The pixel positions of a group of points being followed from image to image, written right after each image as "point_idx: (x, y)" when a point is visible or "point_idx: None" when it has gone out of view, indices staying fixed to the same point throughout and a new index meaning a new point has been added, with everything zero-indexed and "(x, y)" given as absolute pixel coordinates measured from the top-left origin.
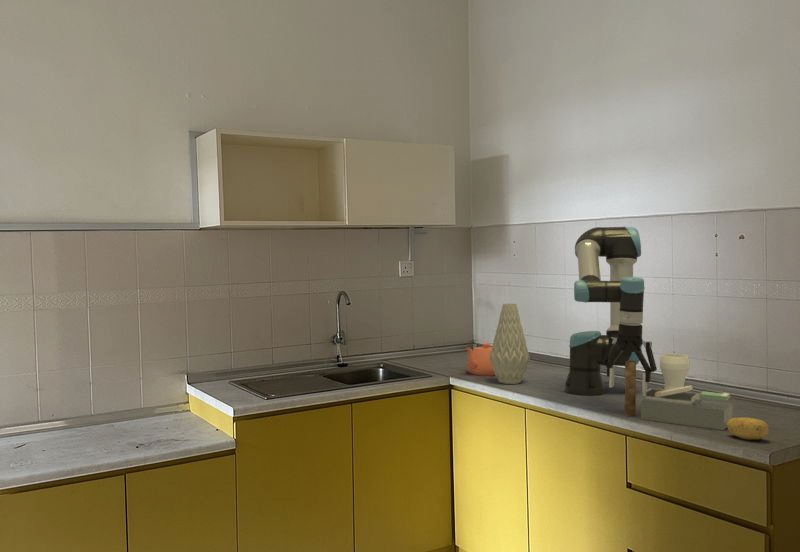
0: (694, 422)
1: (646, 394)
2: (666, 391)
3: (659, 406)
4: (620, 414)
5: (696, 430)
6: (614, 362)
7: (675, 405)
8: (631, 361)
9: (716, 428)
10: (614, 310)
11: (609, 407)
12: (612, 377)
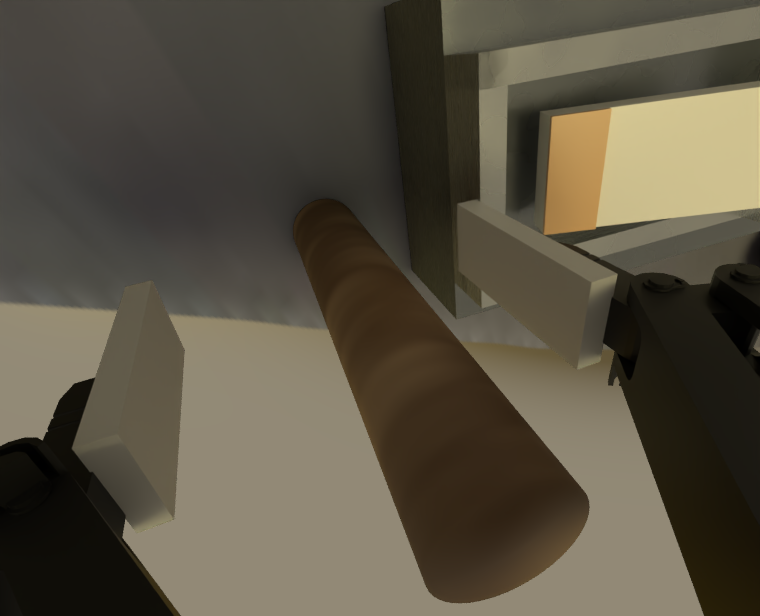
0: None
1: None
2: (643, 208)
3: None
4: (270, 252)
5: (650, 266)
6: (122, 542)
7: (642, 264)
8: (521, 532)
9: None
10: None
11: (49, 98)
12: (167, 393)
